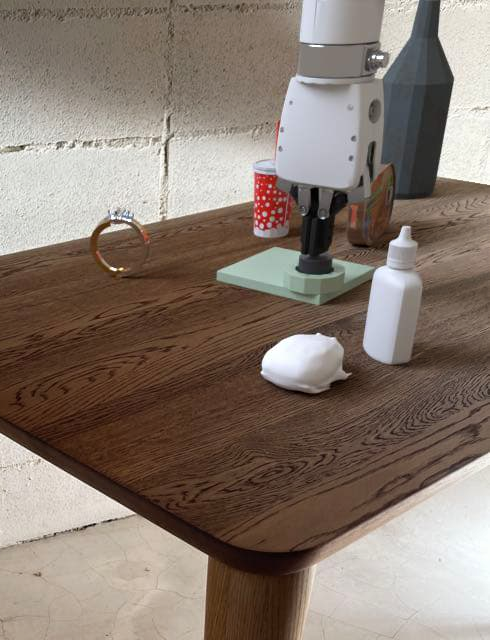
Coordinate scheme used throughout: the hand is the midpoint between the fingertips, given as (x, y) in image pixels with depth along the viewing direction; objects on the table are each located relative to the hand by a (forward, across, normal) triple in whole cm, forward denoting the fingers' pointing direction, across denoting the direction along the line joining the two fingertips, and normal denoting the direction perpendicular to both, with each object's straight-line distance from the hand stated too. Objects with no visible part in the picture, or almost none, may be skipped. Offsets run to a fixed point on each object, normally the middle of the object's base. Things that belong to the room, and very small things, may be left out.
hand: (314, 252), depth 95 cm
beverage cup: (+5, +17, -18) cm, 25 cm away
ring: (+5, +21, +8) cm, 23 cm away
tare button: (+2, 0, 0) cm, 2 cm away
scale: (+5, +4, -4) cm, 7 cm away
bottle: (+5, +14, -48) cm, 50 cm away
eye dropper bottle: (+5, -15, +10) cm, 18 cm away
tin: (+5, +6, -24) cm, 25 cm away
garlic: (+5, -12, +19) cm, 23 cm away
